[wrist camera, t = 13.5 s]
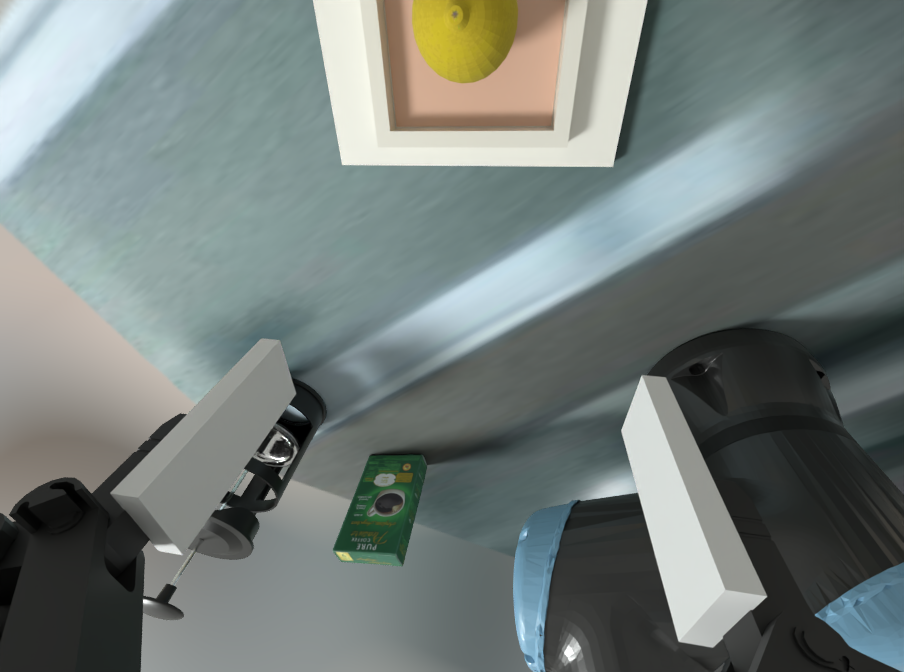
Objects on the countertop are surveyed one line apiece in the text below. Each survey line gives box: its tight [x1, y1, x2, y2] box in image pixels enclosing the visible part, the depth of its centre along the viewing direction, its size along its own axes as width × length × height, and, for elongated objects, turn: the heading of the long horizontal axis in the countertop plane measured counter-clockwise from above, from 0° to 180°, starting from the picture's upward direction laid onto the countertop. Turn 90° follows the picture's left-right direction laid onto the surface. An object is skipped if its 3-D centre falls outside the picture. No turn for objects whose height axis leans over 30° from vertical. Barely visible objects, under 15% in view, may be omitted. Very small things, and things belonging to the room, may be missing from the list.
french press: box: [143, 378, 326, 620], centre depth 40 cm, size 12×9×23 cm
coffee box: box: [333, 454, 427, 566], centre depth 48 cm, size 8×3×13 cm, turn 102°
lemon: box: [412, 0, 518, 84], centre depth 20 cm, size 6×6×8 cm
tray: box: [313, 0, 647, 167], centre depth 24 cm, size 20×16×2 cm
